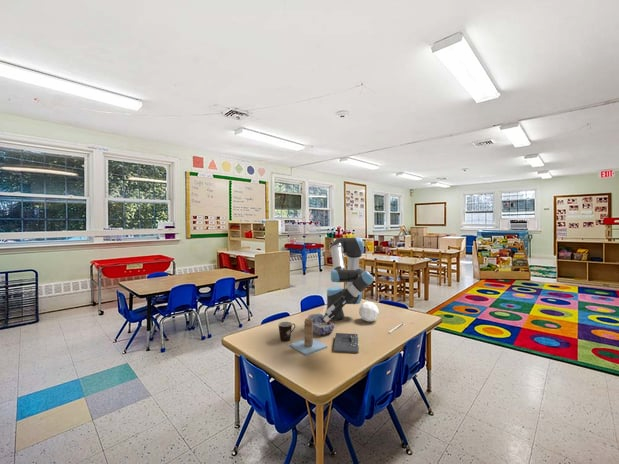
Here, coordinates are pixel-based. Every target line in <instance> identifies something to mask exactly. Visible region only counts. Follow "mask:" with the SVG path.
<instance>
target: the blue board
mask: <svg viewBox="0 0 619 464" xmlns="http://www.w3.org/2000/svg"><path fill="white" fill-rule="evenodd" d="M289 346H290V347H292V348H293V349H295V350H297V352H298V351H299V352H300V353H301V354H303V355H304V356H307V355H308V356H309V355H311V354H314V353H315V352H316V353H317V352H320V351H321V350H325V349H327V348H328V345H327V344H324V343H322V342H320V341H319V340H317V339H315V338H313V345H312V347H306V346H305V343H304V339H303V340H298V341H296V342H292V343H289Z"/></svg>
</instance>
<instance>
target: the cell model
mask: <svg viewBox="0 0 619 464" xmlns="http://www.w3.org/2000/svg"><path fill="white" fill-rule="evenodd" d="M324 318H325V316H324V315H323V314H322V313H313V314H312V313H311V314H308V317H307V319H313V334H314V333H315V334H316V335H318V336H326V335H328V334H331V333H332V332H333V330H334V328H335V324H334V323H333V322H331V320H329V321H328V322H327V323H326V322H325V321H324V320H323V319H324Z"/></svg>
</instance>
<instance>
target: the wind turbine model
mask: <svg viewBox="0 0 619 464" xmlns="http://www.w3.org/2000/svg"><path fill="white" fill-rule="evenodd" d="M402 324H404V322H403V321H401V323H400V324H399V325H396V326H395V327H394V328H392V329H390V330H388V332H387V333H388V334H391V333H393V332H394V331H395V330H396V329H398V328H400V326H403V325H402Z"/></svg>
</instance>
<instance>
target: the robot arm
mask: <svg viewBox="0 0 619 464" xmlns="http://www.w3.org/2000/svg"><path fill="white" fill-rule="evenodd" d="M364 247H365V246H364V240H363V238H362V237H356V236H355V237H338V238H337V239H335V240H334V241H332V243H331V244H330V247H329V252H330V254H331V261H332V270H331V271H330V281H331V282H332V283H346V285H345V286H344V288H342V286H332V287H329V288H328V289H327V291H326V310H325V311H324V312H325V313H324V319H323V320H324V321H325V322H326V323H327V322H328V321H341V320H343V319H345V313H344V310H343V308H344V306H346V305H359V304H360V303H362V298H363V292H364V290H366V289H367V288H368V287H369V286H370V285H372V283H373V282H374V281H375V277H374V276H373V275H372V274H371V272H369V271H368V270H364V269H363V268H361V267H360V258H361V257H362V255H363V254H365V248H364ZM344 254H345V256H346V257H347V267H346V265H345V259H344ZM346 268H347V269H346Z"/></svg>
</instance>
